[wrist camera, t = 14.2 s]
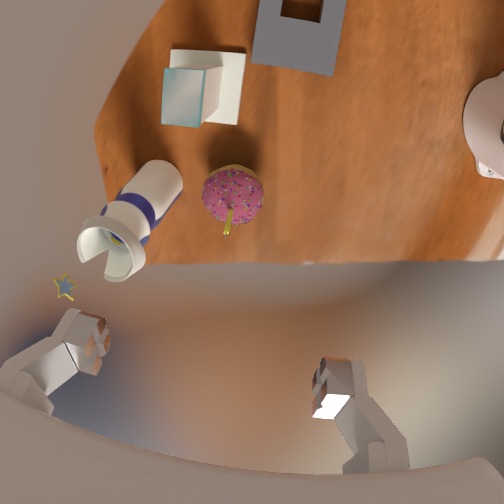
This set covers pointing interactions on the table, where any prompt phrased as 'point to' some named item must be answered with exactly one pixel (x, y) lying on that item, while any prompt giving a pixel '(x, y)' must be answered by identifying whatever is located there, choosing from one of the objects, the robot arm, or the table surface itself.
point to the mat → (230, 79)
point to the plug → (190, 94)
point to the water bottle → (128, 222)
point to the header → (298, 38)
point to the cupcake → (233, 195)
